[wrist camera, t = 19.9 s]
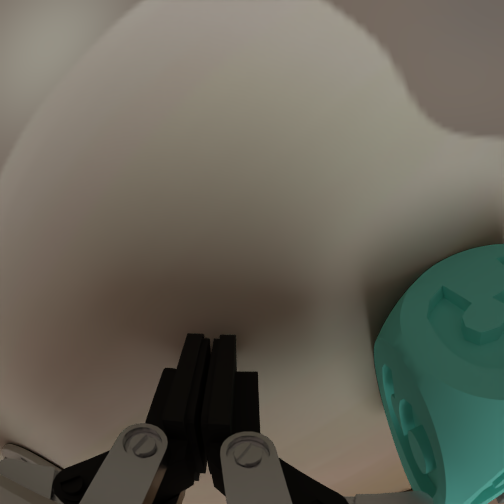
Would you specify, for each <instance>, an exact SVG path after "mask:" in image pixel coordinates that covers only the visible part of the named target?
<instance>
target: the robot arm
mask: <svg viewBox="0 0 504 504" xmlns="http://www.w3.org/2000/svg"><path fill="white" fill-rule="evenodd" d="M2 455H3V457H4V459H3V460H1V461H0V504H182V501H183V499H184V496H185V490H186V489H187V488H189V487H191V486H192V485H193V484H194V481H199V475H200V473H206V466H207V462H208V467H209V471H210V474H212V479H213V483H214V487H215V488H216V489H218V490H219V491H220V492H221V493H222V494H223V495H225V496H226V501H227V504H434V502H433V499H432V498H431V497H430V496H429V495H428V494H427V493H425V492H422V491H408V492H398V493H384V494H356V495H355V497H343V496H342V495H340V494H339V493H337V492H335V491H333V490H331V489H329V488H328V487H326V486H324V485H322V484H321V483H319V482H317V481H315V480H314V479H312V478H310V477H309V476H307V475H305V474H304V473H302V472H300V471H299V470H297V469H295V468H294V467H292V466H291V465H289V464H288V463H286V462H285V461H283V460H281V459H280V458H278V454H277V451H276V447H275V446H274V444H273V442H272V441H271V440H270V439H269V438H268V437H266V436H264V435H262V434H261V433H260V417H259V392H258V372H237V362H236V335H220V338H219V339H214V341H213V346H212V352H211V348H210V339H209V338H204V334H190V333H188V334H187V337H186V340H185V343H184V346H183V350H182V353H181V356H180V359H179V363H178V366H177V369H174V368H165V369H164V370H163V372H162V375H161V378H160V381H159V384H158V387H157V390H156V392H155V395H154V398H153V401H152V404H151V407H150V410H149V413H148V416H147V419H146V422H145V423H141V424H134V425H131V426H129V427H127V428H126V429H124V430H123V431H122V432H121V433H120V435H119V436H118V438H117V440H116V441H115V443H114V445H113V446H112V448H111V450H110V451H107V452H105V453H103V454H100V455H98V456H96V457H93V458H91V459H88V460H86V461H83V462H81V463H78V464H76V465H73V466H70V467H68V468H65V469H63V470H61V469H59V468H58V467H56V466H54V465H53V464H51V463H49V462H48V461H46V460H44V459H43V458H41V457H39V456H37V455H35V454H33V453H32V452H30V451H28V450H26V449H24V448H21V447H19V446H16V445H13V444H6V445H5V446H4V448H3V449H2Z"/></svg>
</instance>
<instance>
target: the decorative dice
mask: <svg viewBox="0 0 504 504" xmlns="http://www.w3.org/2000/svg"><path fill="white" fill-rule="evenodd" d="M374 363H375V370H376V376H377V381H378V386H379V390H380V394H381V398H382V402H383V406H384V410H385V413H386V417H387V420H388V424H389V427H390V430H391V434H392V437H393V440H394V443H395V446H396V449H397V452H398V455H399V457H400V460H401V463H402V466H403V468H404V471H405V473H406V476H407V478H408V480H409V483H410V485H411V487H412V489H413V491H422V492H425V493H427V494H428V495H429V496H430V497H431V498H432V499H433V502H434V504H487V503H489V502H490V501H492V500H494V499H495V498H497V497H498V496H499V495H501V494H502V493H504V244H494V245H487V246H481V247H477V248H473V249H469V250H466V251H463V252H460V253H457V254H455V255H452V256H450V257H448V258H446V259H444V260H442V261H440V262H439V263H437V264H435V265H434V266H432V267H431V268H429V269H428V270H427V271H426V272H424V273H423V274H422V275H421V276H420V277H419V278H418V279H417V280H416V281H415V282H414V283H413V284H412V285H411V286H410V287H409V288H408V290H407V291H406V292H405V293H404V295H403V296H402V297H401V298H400V299H399V301H398V302H397V304H396V305H395V307H394V308H393V310H392V311H391V313H390V314H389V316H388V318H387V319H386V321H385V323H384V325H383V326H382V328H381V331H380V333H379V335H378V337H377V339H376V341H375V344H374Z"/></svg>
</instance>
